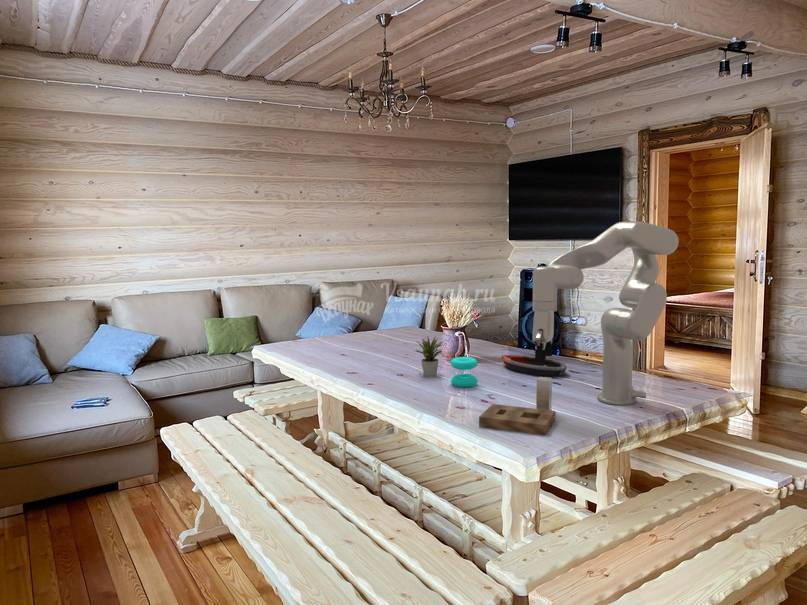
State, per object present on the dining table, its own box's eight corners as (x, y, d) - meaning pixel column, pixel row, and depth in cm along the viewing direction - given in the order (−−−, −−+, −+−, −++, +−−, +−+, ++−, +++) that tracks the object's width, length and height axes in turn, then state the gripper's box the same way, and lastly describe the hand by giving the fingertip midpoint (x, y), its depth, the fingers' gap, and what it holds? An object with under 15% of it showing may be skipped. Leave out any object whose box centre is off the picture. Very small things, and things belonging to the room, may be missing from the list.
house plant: (445, 380, 235) (445, 339, 232) (411, 379, 237) (410, 339, 235) (450, 371, 248) (449, 333, 246) (417, 370, 251) (416, 332, 249)
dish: (552, 381, 231) (552, 368, 231) (492, 367, 255) (492, 356, 254) (575, 374, 241) (576, 362, 241) (516, 361, 265) (516, 350, 264)
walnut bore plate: (555, 420, 185) (555, 410, 185) (545, 435, 173) (545, 425, 172) (492, 412, 194) (492, 403, 194) (479, 426, 181) (478, 416, 181)
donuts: (481, 360, 223) (455, 362, 221) (481, 387, 225) (456, 389, 222) (471, 355, 233) (447, 357, 231) (472, 380, 234) (447, 382, 232)
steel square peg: (551, 410, 195) (551, 377, 193) (548, 414, 191) (549, 380, 190) (539, 409, 196) (539, 376, 195) (536, 413, 193) (536, 379, 191)
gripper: (538, 302, 199) (538, 352, 201) (526, 308, 183) (525, 363, 185) (562, 303, 195) (560, 354, 198) (551, 310, 180) (549, 365, 182)
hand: (543, 358), depth 191 cm, fingers open, 9 cm apart
